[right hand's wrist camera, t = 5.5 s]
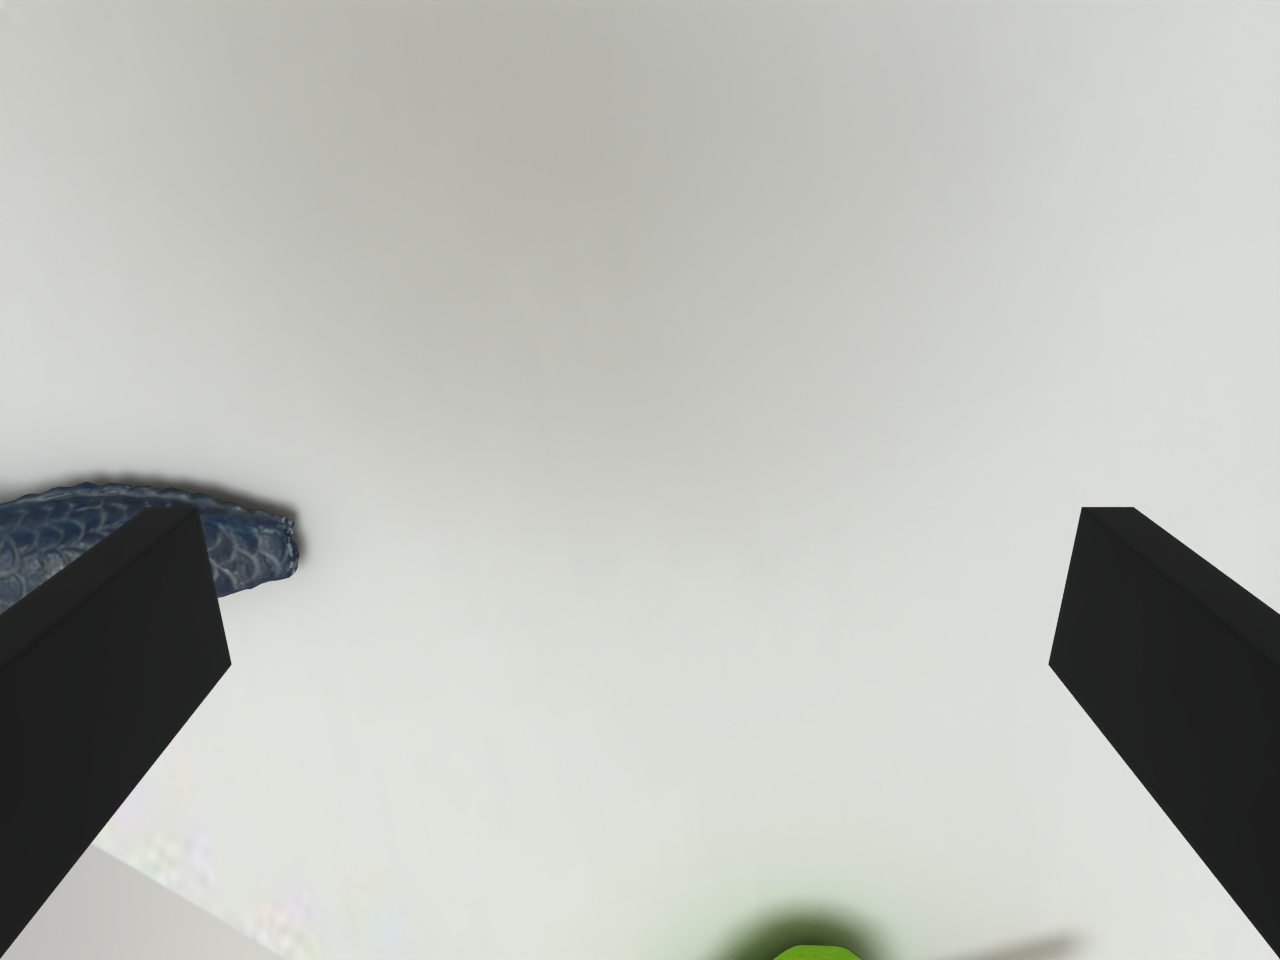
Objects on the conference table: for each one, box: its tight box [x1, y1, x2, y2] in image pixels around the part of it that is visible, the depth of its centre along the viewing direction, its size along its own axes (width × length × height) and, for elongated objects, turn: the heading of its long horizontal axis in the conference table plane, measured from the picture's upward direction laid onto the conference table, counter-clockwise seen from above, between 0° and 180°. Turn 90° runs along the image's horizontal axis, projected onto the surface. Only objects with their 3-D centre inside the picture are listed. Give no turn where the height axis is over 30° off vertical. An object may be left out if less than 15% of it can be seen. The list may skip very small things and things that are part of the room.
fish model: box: [0, 482, 299, 614], centre depth 41 cm, size 7×21×5 cm, turn 92°
